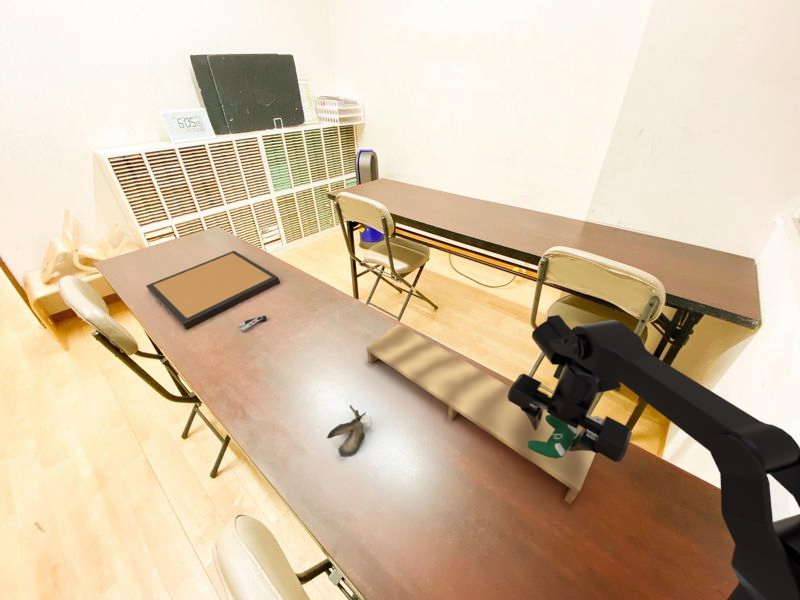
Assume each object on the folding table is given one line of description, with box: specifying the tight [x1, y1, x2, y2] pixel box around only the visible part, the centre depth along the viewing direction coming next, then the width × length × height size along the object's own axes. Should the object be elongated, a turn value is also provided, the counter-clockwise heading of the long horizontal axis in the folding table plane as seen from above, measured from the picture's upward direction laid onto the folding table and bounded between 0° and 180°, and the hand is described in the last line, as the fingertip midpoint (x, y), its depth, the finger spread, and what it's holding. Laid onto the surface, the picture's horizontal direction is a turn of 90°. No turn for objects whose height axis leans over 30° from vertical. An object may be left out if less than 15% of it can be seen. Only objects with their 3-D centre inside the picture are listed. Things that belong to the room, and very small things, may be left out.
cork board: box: [145, 250, 281, 331], centre depth 125 cm, size 36×3×35 cm
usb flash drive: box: [238, 315, 268, 333], centre depth 106 cm, size 9×5×1 cm, turn 115°
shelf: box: [366, 323, 597, 505], centre depth 79 cm, size 56×13×6 cm, turn 48°
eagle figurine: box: [326, 404, 373, 458], centre depth 72 cm, size 8×7×9 cm
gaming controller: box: [528, 414, 578, 459], centre depth 60 cm, size 9×4×6 cm
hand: (552, 438), depth 61 cm, fingers closed on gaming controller, 6 cm apart
